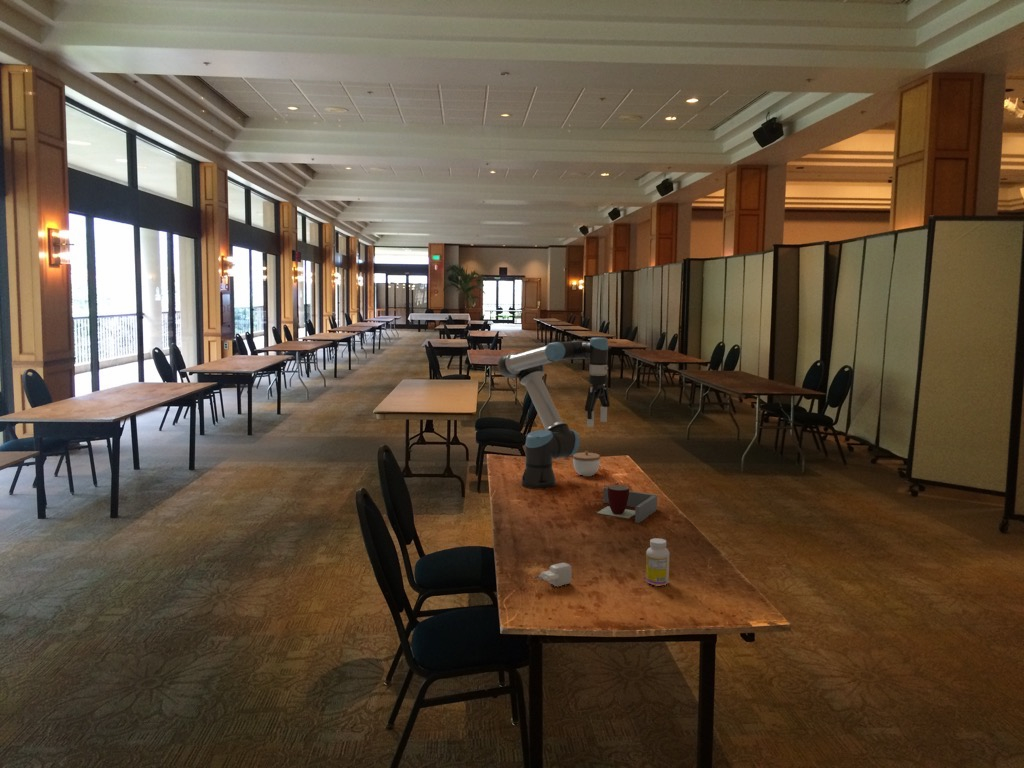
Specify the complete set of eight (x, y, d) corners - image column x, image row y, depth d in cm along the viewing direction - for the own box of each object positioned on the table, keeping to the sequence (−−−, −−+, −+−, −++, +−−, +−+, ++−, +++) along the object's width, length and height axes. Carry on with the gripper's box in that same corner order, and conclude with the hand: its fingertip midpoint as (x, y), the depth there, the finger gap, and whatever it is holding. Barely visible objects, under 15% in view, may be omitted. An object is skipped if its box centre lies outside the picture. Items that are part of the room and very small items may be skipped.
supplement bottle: (652, 577, 227) (653, 535, 226) (672, 582, 223) (674, 540, 221) (641, 583, 222) (642, 541, 220) (661, 589, 218) (663, 546, 216)
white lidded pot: (566, 474, 353) (567, 450, 351) (585, 469, 361) (585, 447, 360) (587, 479, 344) (587, 455, 342) (605, 474, 352) (606, 451, 351)
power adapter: (541, 593, 215) (541, 573, 214) (532, 587, 219) (532, 567, 218) (573, 585, 220) (573, 565, 220) (563, 579, 224) (563, 560, 224)
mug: (605, 507, 297) (606, 483, 296) (626, 508, 297) (626, 483, 296) (608, 515, 287) (609, 490, 286) (629, 516, 287) (630, 490, 286)
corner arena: (583, 513, 290) (584, 498, 290) (604, 501, 307) (605, 487, 307) (638, 523, 279) (639, 507, 278) (657, 509, 296) (657, 494, 296)
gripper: (594, 377, 306) (592, 429, 309) (618, 372, 327) (616, 420, 330) (577, 376, 310) (576, 427, 313) (602, 371, 331) (600, 419, 334)
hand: (597, 424), depth 321 cm, fingers open, 13 cm apart
